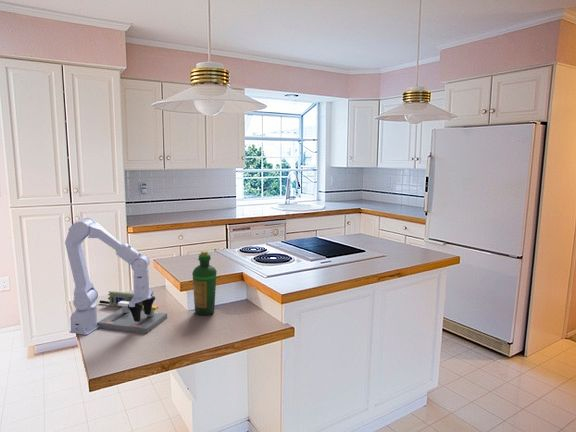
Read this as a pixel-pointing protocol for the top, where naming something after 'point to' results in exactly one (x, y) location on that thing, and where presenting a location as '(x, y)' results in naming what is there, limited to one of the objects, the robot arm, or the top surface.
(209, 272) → the bottle
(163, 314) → the switch panel
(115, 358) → the top surface
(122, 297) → the handheld radio
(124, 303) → the white switch
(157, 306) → the amber switch
